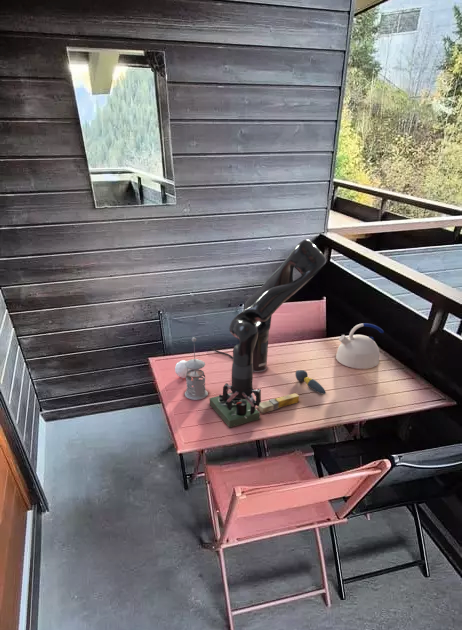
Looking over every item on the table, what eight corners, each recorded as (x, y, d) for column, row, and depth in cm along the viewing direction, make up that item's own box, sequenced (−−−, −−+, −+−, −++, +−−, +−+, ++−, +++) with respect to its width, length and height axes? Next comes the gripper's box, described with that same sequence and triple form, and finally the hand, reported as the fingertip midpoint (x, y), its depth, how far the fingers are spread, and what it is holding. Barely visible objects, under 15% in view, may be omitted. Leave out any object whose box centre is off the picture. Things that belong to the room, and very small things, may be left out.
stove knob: (243, 408, 170) (244, 398, 167) (248, 414, 167) (248, 403, 164) (234, 411, 168) (234, 400, 165) (238, 416, 165) (239, 405, 162)
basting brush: (262, 413, 173) (262, 406, 171) (257, 408, 176) (257, 402, 174) (299, 403, 179) (300, 396, 177) (294, 398, 182) (294, 392, 180)
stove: (209, 404, 178) (209, 397, 176) (238, 397, 182) (238, 390, 181) (230, 429, 164) (230, 422, 162) (261, 420, 169) (261, 413, 167)
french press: (190, 402, 179) (187, 344, 164) (179, 389, 187) (175, 333, 172) (211, 396, 183) (210, 340, 168) (200, 383, 191) (198, 329, 176)
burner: (214, 398, 176) (214, 394, 175) (234, 393, 179) (235, 389, 178) (224, 409, 169) (224, 405, 168) (245, 403, 173) (245, 399, 172)
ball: (189, 382, 198) (197, 372, 192) (173, 380, 193) (180, 370, 187) (186, 368, 201) (194, 358, 195) (170, 365, 196) (178, 355, 190)
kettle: (329, 351, 219) (335, 315, 208) (369, 349, 221) (377, 314, 210) (342, 370, 202) (349, 333, 192) (385, 368, 204) (394, 331, 194)
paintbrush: (330, 393, 186) (332, 382, 183) (322, 396, 183) (324, 386, 180) (297, 375, 198) (298, 365, 195) (289, 378, 196) (290, 368, 193)
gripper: (220, 375, 156) (220, 413, 166) (258, 381, 153) (256, 420, 163) (226, 365, 162) (226, 403, 172) (264, 371, 159) (261, 409, 168)
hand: (241, 411), depth 167 cm, fingers open, 8 cm apart
